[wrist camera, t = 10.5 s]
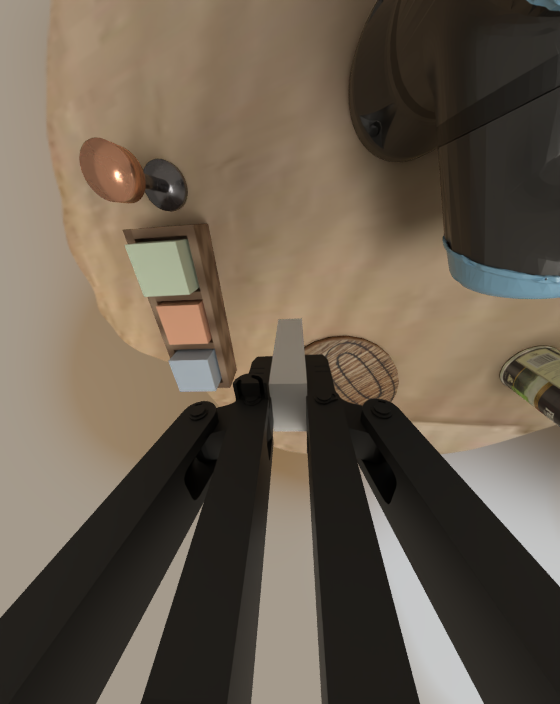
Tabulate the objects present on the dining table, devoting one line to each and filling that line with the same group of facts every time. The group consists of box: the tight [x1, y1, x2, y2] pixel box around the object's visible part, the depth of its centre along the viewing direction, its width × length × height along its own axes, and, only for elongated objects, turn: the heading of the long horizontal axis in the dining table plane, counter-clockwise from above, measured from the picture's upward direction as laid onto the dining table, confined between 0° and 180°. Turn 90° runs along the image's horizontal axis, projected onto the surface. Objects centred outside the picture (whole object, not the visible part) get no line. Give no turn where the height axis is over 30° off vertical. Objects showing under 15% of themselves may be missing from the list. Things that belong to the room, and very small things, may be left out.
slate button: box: [169, 349, 222, 392], centre depth 41 cm, size 7×7×4 cm
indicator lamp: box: [80, 138, 188, 211], centre depth 27 cm, size 6×6×12 cm
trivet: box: [304, 336, 399, 406], centre depth 49 cm, size 25×25×2 cm
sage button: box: [125, 239, 199, 297], centre depth 32 cm, size 7×7×4 cm
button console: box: [123, 224, 237, 388], centre depth 40 cm, size 28×10×6 cm, turn 4°
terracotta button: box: [156, 299, 212, 345], centre depth 38 cm, size 7×7×4 cm
